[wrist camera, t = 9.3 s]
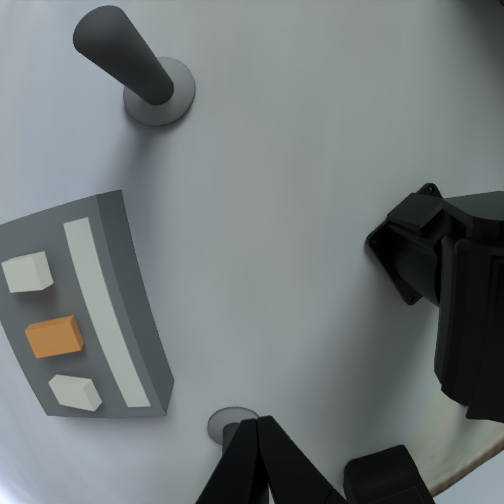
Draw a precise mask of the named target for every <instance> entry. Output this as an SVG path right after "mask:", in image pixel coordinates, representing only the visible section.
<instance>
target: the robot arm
mask: <svg viewBox="0 0 504 504" xmlns="http://www.w3.org/2000/svg"><path fill="white" fill-rule="evenodd" d="M430 187H431V189H432V191H431V193H429V188H430ZM375 237H376V238H377V241H376V243H374V244H373V243H372V240H373V238H375ZM367 244H368V246H369V247H370V249H371V250H372V252H373V253H374V255H375V256H376V258H377V259H378V261H379V262H380V264H381V265H382V267H383V268H384V270H385V271H386V273H387V274H388V276H389V278H390V279H391V281H392V282H393V284H394V285H395V287H396V289H397V290H398V292H399V293H400V295H401V297H402V298H403V300H404V301H405V302H406V303H407V304H408V305H413V304H415V303H416V302H417V301H418V300H419V299H420V298H421V297H423V296H424V297H425V298H427V299H428V300H429V301H431V302H432V303H433V304H435V305H436V306H437V307H439V321H438V332H437V342H436V350H435V358H434V372H435V374H436V376H437V378H438V380H439V382H440V383H441V385H442V386H441V391H442V392H443V393H444V394H446V395H447V396H448V397H449V398H450V399H452V400H454V401H456V402H458V403H460V404H462V405H464V406H467V407H468V410H467V413H466V418H467V419H481V420H491V421H496V422H501V423H504V191H495V192H488V193H480V194H473V195H466V196H459V197H452V198H445V199H444V198H443V197H442V196H441V194H440V192H439V190H438V188H437V186H436V185H435V184H433V183H427V184H425V185H424V186H423V187H422V188H421V189H420V190H419V191H417V192H416V193H411V194H410V195H409V196H408V197H406V198H405V199H404V200H403V201H402V202H401V203H400V204H399V205H398V206H396V207H395V208H394V209H393V210H392V211H391V212H390V213H388V214H387V218H386V220H385V221H384V222H383V223H382V224H380V225H379V226H378V227H377V228H376V229H375V230H374V231H372V232H371V233H370V234H369V235H368V237H367ZM411 296H412V299H411V300H409V298H410V297H411ZM268 483H269V485H268ZM269 487H270V490H271V494H272V497H273V500H274V503H275V504H350V503H349V502H348V501H347V500H346V499H345V498H343V496H342V495H341V494H340V493H339V492H338V491H337V490H336V489H334V488H333V486H332V485H331V484H330V483H329V482H328V481H327V479H326V478H325V477H324V476H323V475H322V474H321V473H320V472H319V471H318V470H317V468H316V467H315V466H314V465H313V464H312V463H311V462H310V460H309V459H308V458H307V457H306V456H305V455H304V454H303V452H302V451H301V450H300V449H299V448H298V447H297V445H296V444H295V443H294V442H293V441H292V440H291V438H290V437H289V436H288V435H287V434H286V432H285V431H284V430H283V429H282V428H281V426H280V425H279V424H278V423H277V422H276V420H275V419H274V418H273V417H272V416H270V415H268V416H262V417H258V418H257V420H256V419H255V418H250V419H243V420H241V422H240V423H239V425H238V427H237V429H236V431H235V433H234V435H233V437H232V439H231V440H230V442H229V444H228V446H227V448H226V450H225V452H224V453H223V455H222V457H221V459H220V461H219V463H218V464H217V466H216V468H215V470H214V472H213V473H212V475H211V477H210V479H209V481H208V482H207V484H206V486H205V488H204V489H203V491H202V493H201V495H200V496H199V498H198V500H197V502H196V503H195V504H269Z"/></svg>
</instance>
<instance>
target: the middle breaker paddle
mask: <svg viewBox="0 0 504 504" xmlns="http://www.w3.org/2000/svg"><path fill="white" fill-rule="evenodd" d="M25 334H26V336H27V338H28V341H29V343H30V345H31V348H32V350H33V352H34V354H35V357H36V358H41V357H47V356H53V355H58V354H64V353H69V352H75V351H80V350H81V349H82V347H83V344H84V340H83V338H82V335H81V332H80V330H79V327H78V324H77V322H76V319H75V316H74V315H71V316H67V317H62V318H57V319H53V320H48V321H43V322H39V323H34V324H30V325H29V326H28V328H27V329H26V330H25Z"/></svg>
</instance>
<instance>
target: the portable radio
mask: <svg viewBox="0 0 504 504" xmlns="http://www.w3.org/2000/svg"><path fill="white" fill-rule="evenodd" d="M343 489H344V493H345V496H346V499H347V501H348V502H349V503H350V504H435V502H434V500H433V498H432V496H431V494H430V493H429V491H428V489H427V487H426V485H425V483H424V482H423V480H422V478H421V476H420V474H419V472H418V469H417V466H416V464H415V463H414V461H413V459H412V457H411V455H410V454H409V452H408V450H407V449H406V447H405V446H404V445H399V446H396V447H393V448H390V449H387V450H384V451H381V452H378V453H375V454H372V455H368V456H365V457H362V458H358V459H354V460H351V461H350V462H349V463H348V465H347V466H346V467H345V471H344V484H343Z"/></svg>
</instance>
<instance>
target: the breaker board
mask: <svg viewBox="0 0 504 504" xmlns="http://www.w3.org/2000/svg"><path fill="white" fill-rule="evenodd" d="M43 251H45V255H46V259H47V262H48V266H49V269H50V273H51V276H52V279H53V282H54V283H53V284H51V285H50V286H48V287H46V288H45V289H43V290H35V291H24V292H13V293H10V290H9V287H8V284H7V281H6V277H5V274H4V271H3V267H2V264H1V263H2V262H5V261H7V260H9V259H11V258H15V257H19V256H24V255H29V254H33V253H38V252H43ZM71 315H74V316H75V319H76V322H77V324H78V327H79V330H80V332H81V335H82V338H83V340H84V344H83V347H82V349H81V350H80V351H75V352H69V353H64V354H58V355H53V356H47V357H41V358H36V357H35V354H34V352H33V350H32V348H31V345H30V343H29V341H28V338H27V336H26V334H25V330H26V329H27V328H28V326H29V325H30V324H34V323H39V322H43V321H48V320H53V319H57V318H62V317H67V316H71ZM0 321H1V323H2V326H3V328H4V331H5V333H6V335H7V338H8V340H9V342H10V345H11V347H12V349H13V351H14V354H15V356H16V358H17V360H18V362H19V364H20V366H21V368H22V370H23V372H24V374H25V376H26V378H27V380H28V382H29V384H30V386H31V388H32V390H33V392H34V393H35V395H36V397H37V399H38V401H39V402H40V404H41V406H42V408H43V409H44V411H45V413H46V414H47V415H48V416H64V417H92V418H123V417H152V416H166V413H167V409H168V405H169V400H170V396H171V392H172V388H173V384H174V378H173V376H172V373H171V370H170V367H169V364H168V362H167V359H166V356H165V353H164V350H163V347H162V344H161V341H160V338H159V335H158V331H157V328H156V325H155V322H154V319H153V315H152V312H151V309H150V305H149V302H148V299H147V295H146V292H145V288H144V284H143V281H142V277H141V273H140V270H139V266H138V262H137V258H136V254H135V250H134V246H133V242H132V238H131V234H130V229H129V225H128V220H127V216H126V211H125V207H124V202H123V197H122V192H121V190H117V191H113V192H108V193H103V194H98V195H94V196H90V197H87V198H83V199H80V200H76V201H73V202H69V203H66V204H63V205H59V206H56V207H53V208H50V209H46V210H43V211H40V212H37V213H34V214H31V215H28V216H25V217H22V218H19V219H16V220H13V221H10V222H7V223H4V224H2V225H0ZM56 375H64V376H71V377H78V378H86V379H91V380H92V382H93V384H94V386H95V388H96V390H97V392H98V394H99V396H100V398H101V400H102V403H101V404H100V405H99V406H98V408H97V409H96V410H95V411H90V410H85V409H80V408H75V407H70V406H65V405H61V404H59V402H58V400H57V398H56V396H55V394H54V393H53V391H52V389H51V387H50V385H49V383H48V382H49V381H50V380H51V379H52V378H53V377H55V376H56Z"/></svg>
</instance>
